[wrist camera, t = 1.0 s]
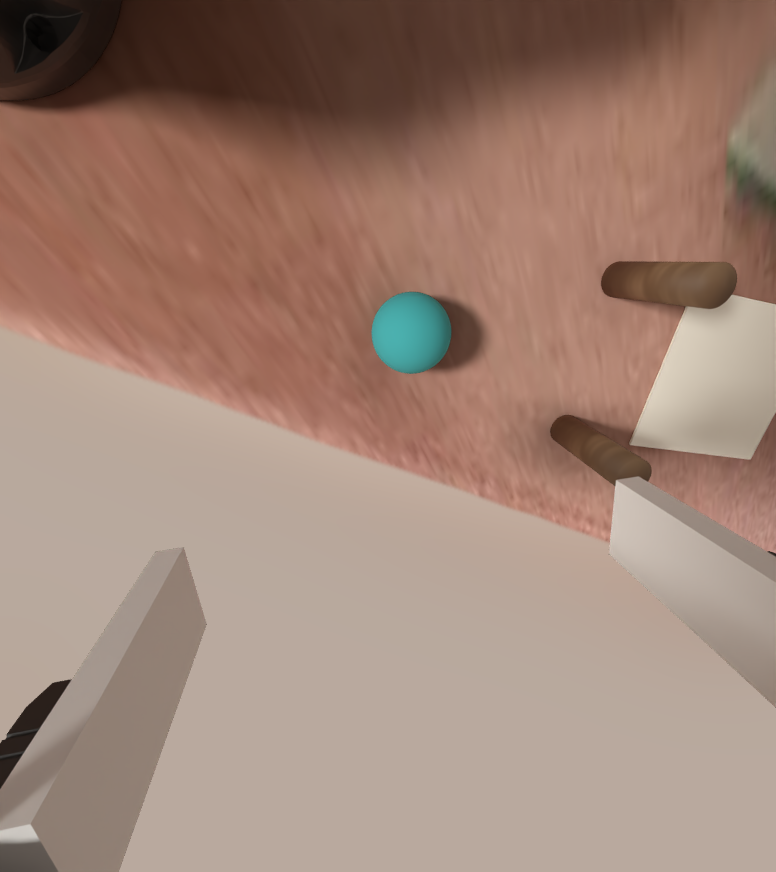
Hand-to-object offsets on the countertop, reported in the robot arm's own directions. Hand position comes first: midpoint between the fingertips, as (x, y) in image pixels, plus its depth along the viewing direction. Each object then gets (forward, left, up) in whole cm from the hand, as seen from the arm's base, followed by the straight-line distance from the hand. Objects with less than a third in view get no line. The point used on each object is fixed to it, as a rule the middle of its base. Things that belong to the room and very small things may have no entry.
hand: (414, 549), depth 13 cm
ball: (-4, +3, -19) cm, 20 cm away
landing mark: (-4, +33, -22) cm, 40 cm away
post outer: (+2, +19, -22) cm, 29 cm away
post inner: (-10, +19, -22) cm, 31 cm away
